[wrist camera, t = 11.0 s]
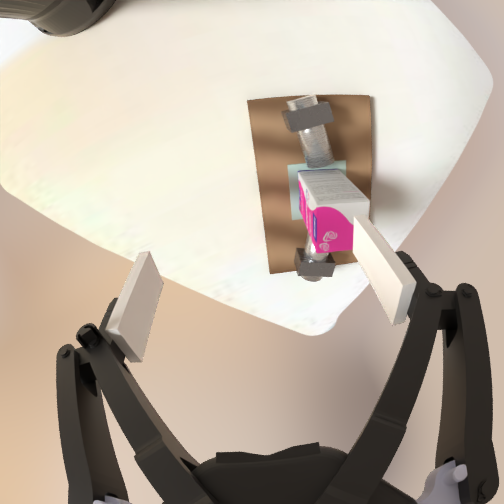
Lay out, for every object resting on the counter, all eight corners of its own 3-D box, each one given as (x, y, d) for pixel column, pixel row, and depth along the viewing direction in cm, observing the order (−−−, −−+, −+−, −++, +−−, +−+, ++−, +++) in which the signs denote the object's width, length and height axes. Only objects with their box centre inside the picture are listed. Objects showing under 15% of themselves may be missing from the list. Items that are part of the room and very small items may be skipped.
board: (247, 100, 31) (247, 100, 29) (365, 95, 30) (370, 95, 29) (269, 269, 44) (270, 274, 43) (362, 256, 44) (365, 261, 43)
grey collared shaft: (277, 103, 30) (282, 104, 27) (317, 93, 29) (325, 93, 26) (298, 165, 34) (304, 173, 31) (335, 154, 34) (344, 161, 30)
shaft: (301, 216, 38) (307, 229, 35) (336, 219, 39) (344, 231, 35) (292, 266, 43) (296, 281, 40) (324, 268, 43) (330, 282, 40)
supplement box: (295, 170, 34) (317, 203, 25) (338, 167, 34) (374, 199, 25) (297, 210, 38) (316, 255, 28) (337, 206, 37) (368, 249, 28)
